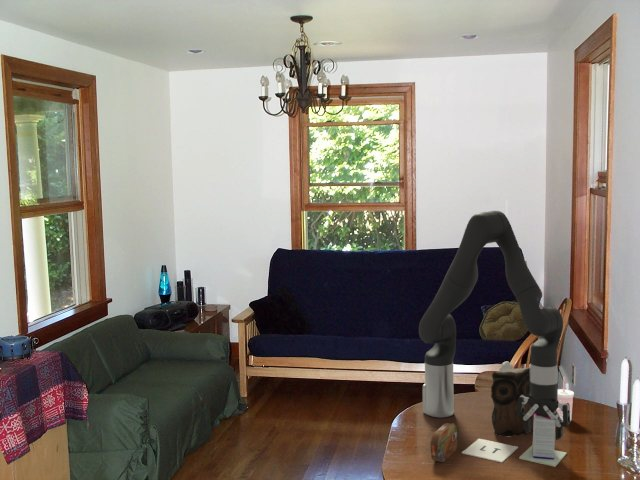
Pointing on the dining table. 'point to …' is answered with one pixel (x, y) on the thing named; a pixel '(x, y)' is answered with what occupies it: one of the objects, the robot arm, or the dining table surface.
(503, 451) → the tile
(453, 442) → the tin
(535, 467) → the dining table surface
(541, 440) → the supplement box
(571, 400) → the beverage cup
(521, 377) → the owl
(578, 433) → the dining table surface
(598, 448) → the dining table surface
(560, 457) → the sage mat
